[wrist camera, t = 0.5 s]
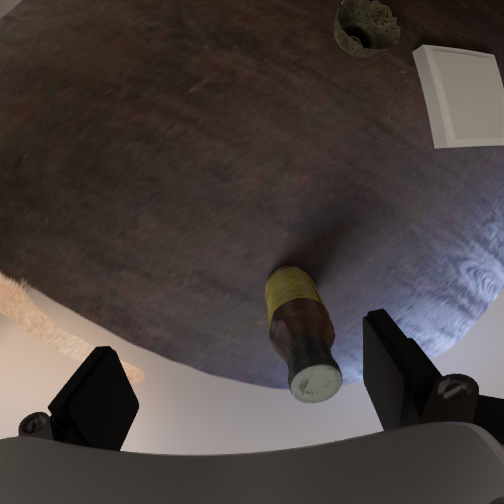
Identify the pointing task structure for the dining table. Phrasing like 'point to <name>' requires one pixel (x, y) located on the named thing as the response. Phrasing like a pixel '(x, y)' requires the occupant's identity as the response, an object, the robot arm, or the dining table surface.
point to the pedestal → (461, 96)
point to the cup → (365, 28)
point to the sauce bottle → (302, 334)
